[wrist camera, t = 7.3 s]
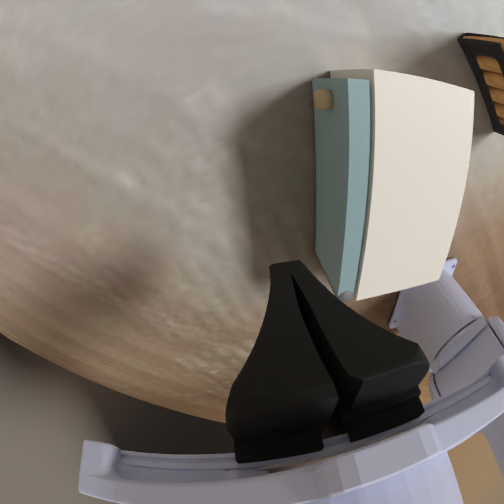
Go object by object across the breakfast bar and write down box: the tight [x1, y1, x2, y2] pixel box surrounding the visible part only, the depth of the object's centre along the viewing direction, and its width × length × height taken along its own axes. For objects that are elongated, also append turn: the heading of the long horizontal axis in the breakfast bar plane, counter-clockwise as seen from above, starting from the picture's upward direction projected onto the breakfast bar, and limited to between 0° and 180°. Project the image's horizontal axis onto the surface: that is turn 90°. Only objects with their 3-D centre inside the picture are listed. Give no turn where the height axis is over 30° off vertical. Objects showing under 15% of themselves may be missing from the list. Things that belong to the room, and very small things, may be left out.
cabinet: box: [330, 69, 474, 301], centre depth 17 cm, size 15×8×6 cm, turn 6°
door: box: [312, 78, 370, 303], centre depth 17 cm, size 14×2×6 cm, turn 6°
